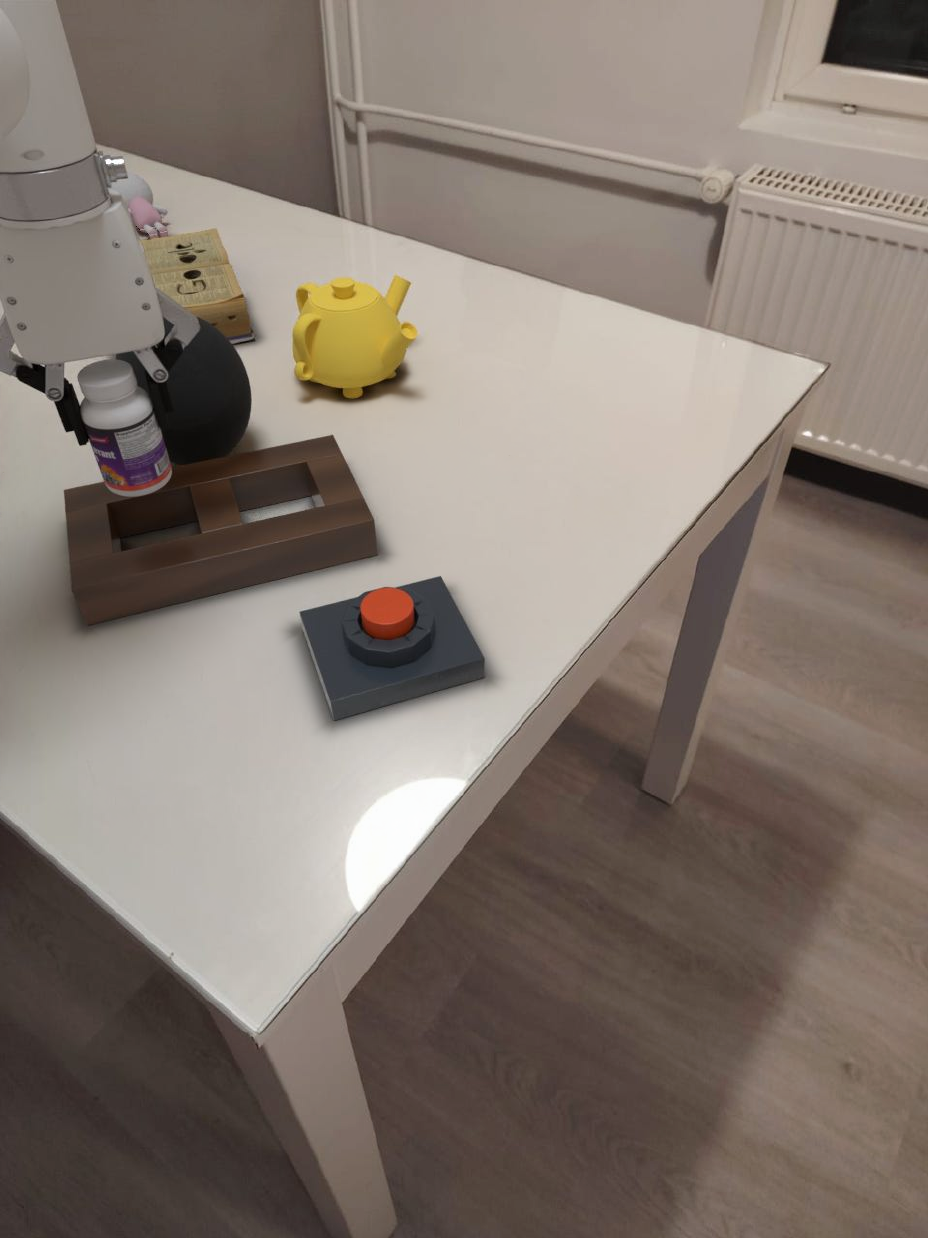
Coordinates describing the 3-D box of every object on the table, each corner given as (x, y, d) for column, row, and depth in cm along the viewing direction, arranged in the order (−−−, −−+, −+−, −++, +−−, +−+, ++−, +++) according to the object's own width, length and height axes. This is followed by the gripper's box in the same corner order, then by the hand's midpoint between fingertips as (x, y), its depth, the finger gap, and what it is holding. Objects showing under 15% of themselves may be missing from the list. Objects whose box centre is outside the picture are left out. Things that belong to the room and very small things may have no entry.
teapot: (420, 405, 95) (416, 307, 87) (295, 412, 94) (279, 313, 86) (413, 343, 105) (408, 250, 98) (300, 348, 104) (286, 255, 97)
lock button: (370, 646, 64) (368, 629, 63) (356, 611, 67) (354, 594, 66) (421, 632, 65) (420, 616, 64) (405, 598, 68) (404, 582, 67)
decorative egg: (287, 444, 90) (263, 305, 79) (205, 508, 82) (166, 363, 72) (198, 412, 94) (164, 276, 84) (112, 469, 87) (63, 328, 76)
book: (256, 341, 106) (248, 293, 101) (116, 365, 102) (101, 316, 97) (224, 262, 122) (215, 218, 118) (102, 280, 118) (88, 235, 114)
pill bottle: (94, 476, 72) (55, 369, 65) (155, 452, 74) (123, 346, 67) (122, 507, 69) (84, 398, 62) (184, 481, 71) (154, 373, 64)
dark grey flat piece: (333, 721, 64) (327, 685, 61) (302, 630, 71) (295, 595, 68) (484, 677, 67) (485, 641, 64) (441, 594, 74) (440, 559, 71)
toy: (189, 254, 134) (141, 190, 137) (187, 216, 128) (137, 150, 131) (138, 268, 130) (91, 202, 134) (134, 229, 124) (84, 162, 128)
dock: (378, 555, 77) (374, 519, 75) (87, 625, 71) (71, 590, 68) (337, 468, 87) (333, 434, 84) (77, 524, 81) (63, 489, 78)
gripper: (172, 151, 60) (224, 385, 73) (-97, 183, 56) (8, 425, 69) (188, 187, 55) (240, 431, 68) (-107, 224, 51) (8, 477, 64)
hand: (123, 426), depth 68 cm, fingers closed on pill bottle, 5 cm apart
